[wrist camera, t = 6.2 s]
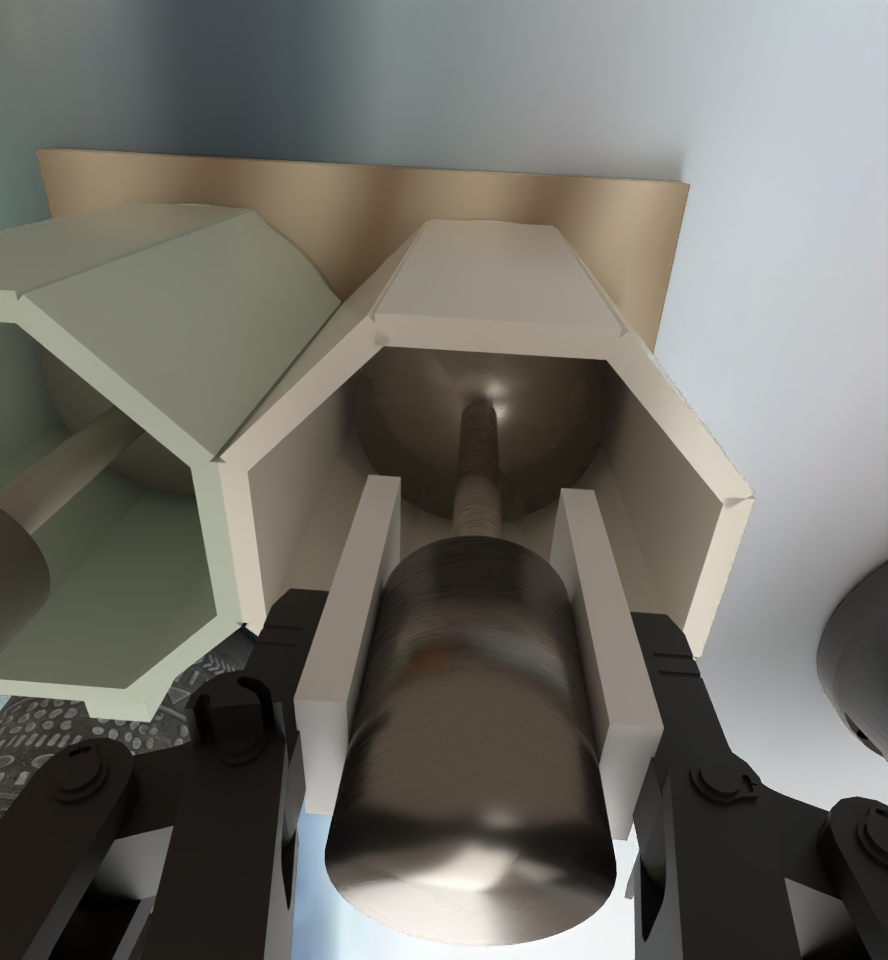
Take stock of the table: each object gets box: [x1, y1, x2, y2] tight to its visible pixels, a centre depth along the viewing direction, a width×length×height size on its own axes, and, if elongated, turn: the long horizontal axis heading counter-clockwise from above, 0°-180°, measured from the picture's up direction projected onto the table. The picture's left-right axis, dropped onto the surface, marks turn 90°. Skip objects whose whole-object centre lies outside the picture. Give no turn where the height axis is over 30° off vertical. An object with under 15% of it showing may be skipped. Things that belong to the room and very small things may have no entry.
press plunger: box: [325, 346, 617, 946], centre depth 15 cm, size 8×8×15 cm
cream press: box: [218, 219, 755, 661], centre depth 21 cm, size 11×14×14 cm
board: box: [35, 148, 690, 354], centre depth 27 cm, size 24×14×1 cm, turn 87°
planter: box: [0, 629, 256, 960], centre depth 31 cm, size 14×14×15 cm
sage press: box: [0, 202, 342, 722], centre depth 18 cm, size 11×14×20 cm
